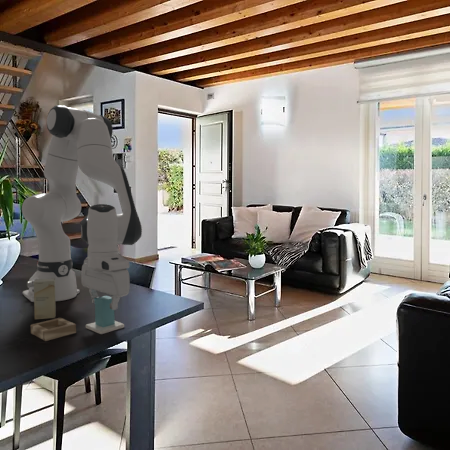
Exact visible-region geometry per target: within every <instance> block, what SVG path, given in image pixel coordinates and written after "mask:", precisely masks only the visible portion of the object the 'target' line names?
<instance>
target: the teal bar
mask: <svg viewBox="0 0 450 450" xmlns="http://www.w3.org/2000/svg"><path fill="white" fill-rule="evenodd" d="M110 303H112V298H111V296H109V295H103V296H98V298H95V303H94V316H95V317H94V322H95V324H96V325H98V326H101V327H106V326H110V325H113V324H115V321H116V320H115V319H116V317H115V310H112V309H110Z"/></svg>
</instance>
